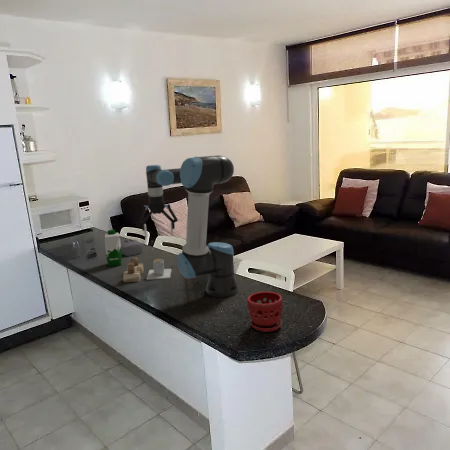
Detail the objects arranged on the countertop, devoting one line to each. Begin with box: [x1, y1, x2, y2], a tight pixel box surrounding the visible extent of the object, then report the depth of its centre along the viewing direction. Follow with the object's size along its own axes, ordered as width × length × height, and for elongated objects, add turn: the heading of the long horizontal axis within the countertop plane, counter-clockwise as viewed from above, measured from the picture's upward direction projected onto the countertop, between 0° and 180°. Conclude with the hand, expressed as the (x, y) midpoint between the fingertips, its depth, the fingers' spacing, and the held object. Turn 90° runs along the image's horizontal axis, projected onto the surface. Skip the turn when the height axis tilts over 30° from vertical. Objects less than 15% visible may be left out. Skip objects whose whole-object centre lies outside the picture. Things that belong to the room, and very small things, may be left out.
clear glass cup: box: [152, 258, 165, 276], centre depth 217 cm, size 6×5×8 cm
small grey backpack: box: [120, 238, 143, 257], centre depth 263 cm, size 15×8×20 cm
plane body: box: [122, 257, 144, 283], centre depth 216 cm, size 17×8×9 cm, turn 4°
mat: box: [146, 268, 172, 281], centre depth 218 cm, size 14×12×1 cm
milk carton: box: [103, 229, 123, 267], centre depth 237 cm, size 9×9×20 cm
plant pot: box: [247, 291, 283, 333], centre depth 154 cm, size 13×13×12 cm
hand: (159, 236), depth 212 cm, fingers open, 13 cm apart
